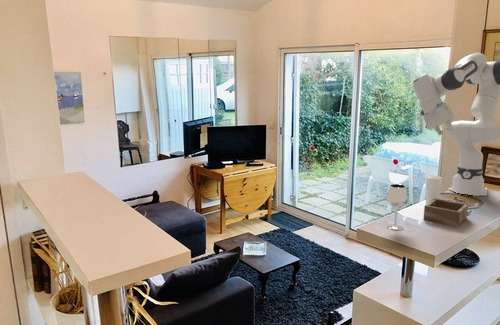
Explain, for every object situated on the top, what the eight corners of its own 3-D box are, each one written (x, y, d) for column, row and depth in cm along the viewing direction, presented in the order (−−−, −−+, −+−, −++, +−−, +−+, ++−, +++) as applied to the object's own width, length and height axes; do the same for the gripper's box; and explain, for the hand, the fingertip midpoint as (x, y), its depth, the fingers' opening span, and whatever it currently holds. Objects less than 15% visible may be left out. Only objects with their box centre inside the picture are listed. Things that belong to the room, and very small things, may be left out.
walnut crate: (433, 211, 183) (434, 198, 182) (466, 218, 174) (468, 204, 173) (423, 219, 173) (424, 205, 171) (458, 227, 164) (459, 212, 162)
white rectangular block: (436, 205, 193) (438, 175, 190) (441, 209, 186) (444, 178, 183) (422, 204, 194) (424, 175, 191) (426, 209, 187) (429, 178, 184)
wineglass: (380, 227, 165) (383, 185, 161) (391, 222, 170) (393, 182, 166) (398, 232, 159) (401, 189, 155) (409, 227, 164) (412, 186, 160)
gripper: (450, 98, 177) (463, 125, 176) (430, 109, 198) (442, 134, 196) (437, 103, 177) (450, 130, 176) (418, 114, 198) (430, 139, 196)
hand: (445, 132), depth 186 cm, fingers open, 8 cm apart
